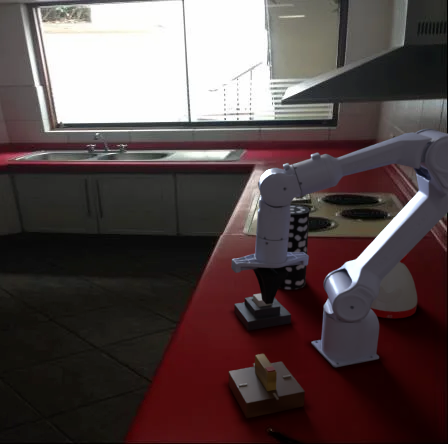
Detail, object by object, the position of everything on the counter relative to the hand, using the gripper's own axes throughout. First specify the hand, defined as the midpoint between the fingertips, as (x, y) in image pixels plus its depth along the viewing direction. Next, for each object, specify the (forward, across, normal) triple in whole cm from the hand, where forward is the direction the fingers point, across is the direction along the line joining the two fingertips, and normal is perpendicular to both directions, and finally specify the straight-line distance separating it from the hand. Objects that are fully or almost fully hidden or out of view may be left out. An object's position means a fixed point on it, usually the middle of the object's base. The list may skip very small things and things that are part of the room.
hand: (267, 301), depth 80 cm
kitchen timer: (+9, -33, -8) cm, 36 cm away
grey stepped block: (+10, -4, -10) cm, 15 cm away
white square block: (+7, -4, -10) cm, 13 cm away
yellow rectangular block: (+7, +6, +13) cm, 16 cm away
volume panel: (+10, +6, +13) cm, 17 cm away
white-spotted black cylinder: (+10, -18, -24) cm, 32 cm away
